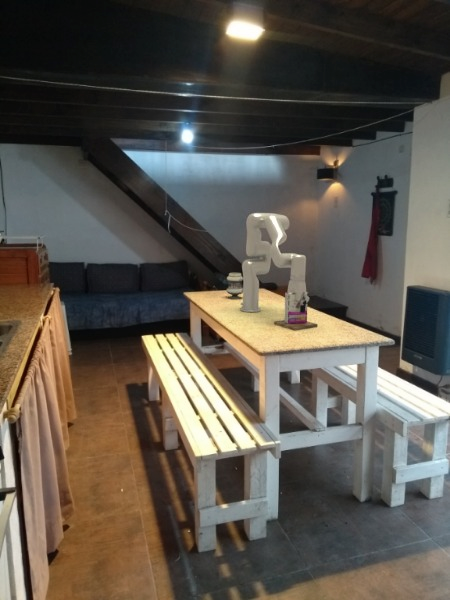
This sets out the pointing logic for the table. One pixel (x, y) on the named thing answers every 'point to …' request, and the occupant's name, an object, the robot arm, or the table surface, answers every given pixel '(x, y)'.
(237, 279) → the apothecary jar
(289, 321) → the candy bar box
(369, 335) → the table surface
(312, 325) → the walnut board
